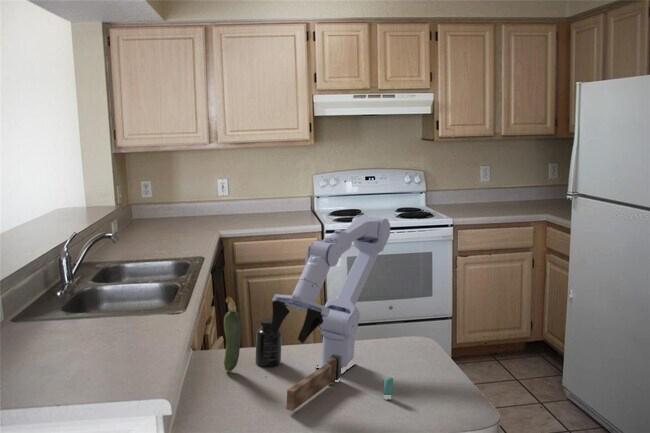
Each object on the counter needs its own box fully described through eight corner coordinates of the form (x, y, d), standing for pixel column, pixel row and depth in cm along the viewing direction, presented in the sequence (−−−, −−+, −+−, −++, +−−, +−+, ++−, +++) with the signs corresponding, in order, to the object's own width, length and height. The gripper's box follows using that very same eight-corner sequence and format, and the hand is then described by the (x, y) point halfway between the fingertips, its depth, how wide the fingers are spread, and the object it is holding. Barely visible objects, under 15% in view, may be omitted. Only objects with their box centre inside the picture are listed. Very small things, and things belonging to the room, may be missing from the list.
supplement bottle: (252, 359, 159) (254, 316, 157) (276, 357, 161) (278, 315, 159) (258, 369, 152) (260, 324, 151) (283, 367, 155) (285, 323, 153)
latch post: (385, 396, 140) (386, 376, 140) (393, 398, 139) (394, 378, 139) (381, 399, 139) (383, 379, 138) (389, 401, 138) (391, 381, 137)
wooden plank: (328, 378, 147) (329, 357, 146) (337, 380, 146) (338, 359, 145) (284, 409, 129) (285, 385, 128) (294, 412, 128) (295, 388, 127)
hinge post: (331, 378, 149) (333, 354, 148) (340, 380, 148) (341, 356, 147) (329, 380, 148) (330, 356, 147) (337, 383, 146) (338, 358, 146)
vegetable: (240, 370, 151) (243, 294, 148) (238, 376, 147) (241, 299, 144) (223, 369, 151) (225, 294, 148) (220, 376, 147) (223, 298, 144)
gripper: (277, 271, 141) (253, 322, 135) (330, 284, 134) (307, 338, 128) (288, 285, 146) (265, 334, 140) (339, 297, 139) (318, 350, 133)
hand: (286, 337), depth 135 cm, fingers open, 7 cm apart
